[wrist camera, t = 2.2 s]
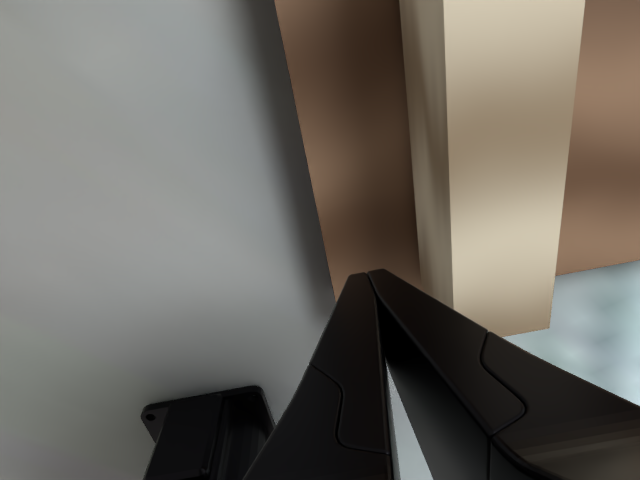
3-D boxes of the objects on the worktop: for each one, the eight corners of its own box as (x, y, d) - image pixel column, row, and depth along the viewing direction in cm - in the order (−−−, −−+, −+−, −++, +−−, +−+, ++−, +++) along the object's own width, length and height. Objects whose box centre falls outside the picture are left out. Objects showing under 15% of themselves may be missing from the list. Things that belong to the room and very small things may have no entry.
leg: (385, -156, 9) (448, -299, 6) (506, -182, 9) (650, -345, 6) (420, 283, 15) (462, 359, 11) (494, 269, 15) (561, 341, 11)
